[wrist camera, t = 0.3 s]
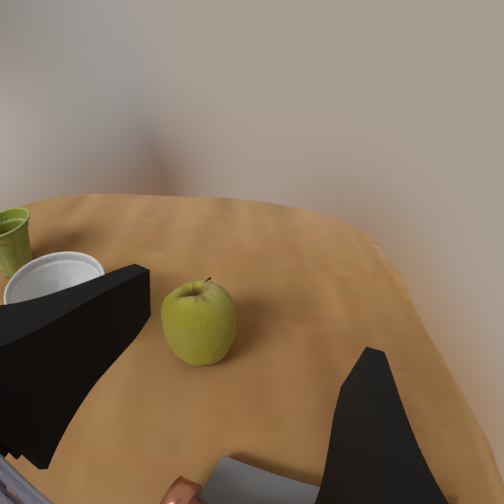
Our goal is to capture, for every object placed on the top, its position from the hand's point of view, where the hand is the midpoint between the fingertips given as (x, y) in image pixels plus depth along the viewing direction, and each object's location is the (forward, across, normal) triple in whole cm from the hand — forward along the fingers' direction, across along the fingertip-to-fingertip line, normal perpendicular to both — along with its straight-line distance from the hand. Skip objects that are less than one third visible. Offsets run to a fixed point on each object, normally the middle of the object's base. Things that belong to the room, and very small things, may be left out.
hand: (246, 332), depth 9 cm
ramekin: (+10, +24, +22) cm, 33 cm away
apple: (+15, +7, +20) cm, 26 cm away
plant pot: (+13, +42, +22) cm, 49 cm away
